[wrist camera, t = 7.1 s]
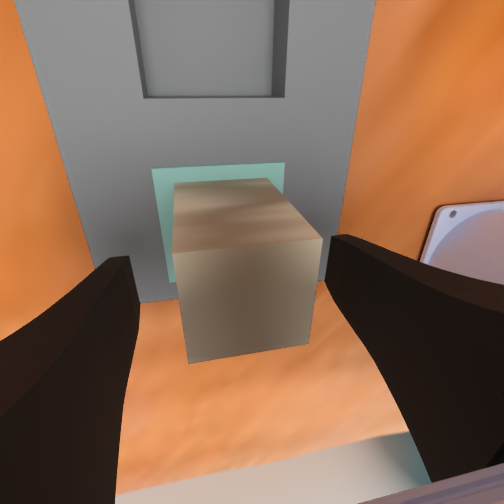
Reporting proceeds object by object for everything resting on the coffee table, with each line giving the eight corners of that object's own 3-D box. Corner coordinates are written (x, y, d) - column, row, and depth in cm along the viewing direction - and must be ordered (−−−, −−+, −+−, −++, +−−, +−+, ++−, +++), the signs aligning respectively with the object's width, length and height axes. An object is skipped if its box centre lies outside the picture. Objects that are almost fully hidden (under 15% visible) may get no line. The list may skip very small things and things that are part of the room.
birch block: (267, 177, 13) (322, 238, 8) (264, 255, 15) (308, 343, 10) (174, 182, 13) (171, 253, 7) (184, 264, 15) (188, 363, 9)
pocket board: (358, -105, 11) (404, -151, 9) (313, 257, 19) (331, 281, 17) (0, -152, 9) (-59, -227, 7) (115, 279, 17) (106, 310, 15)
